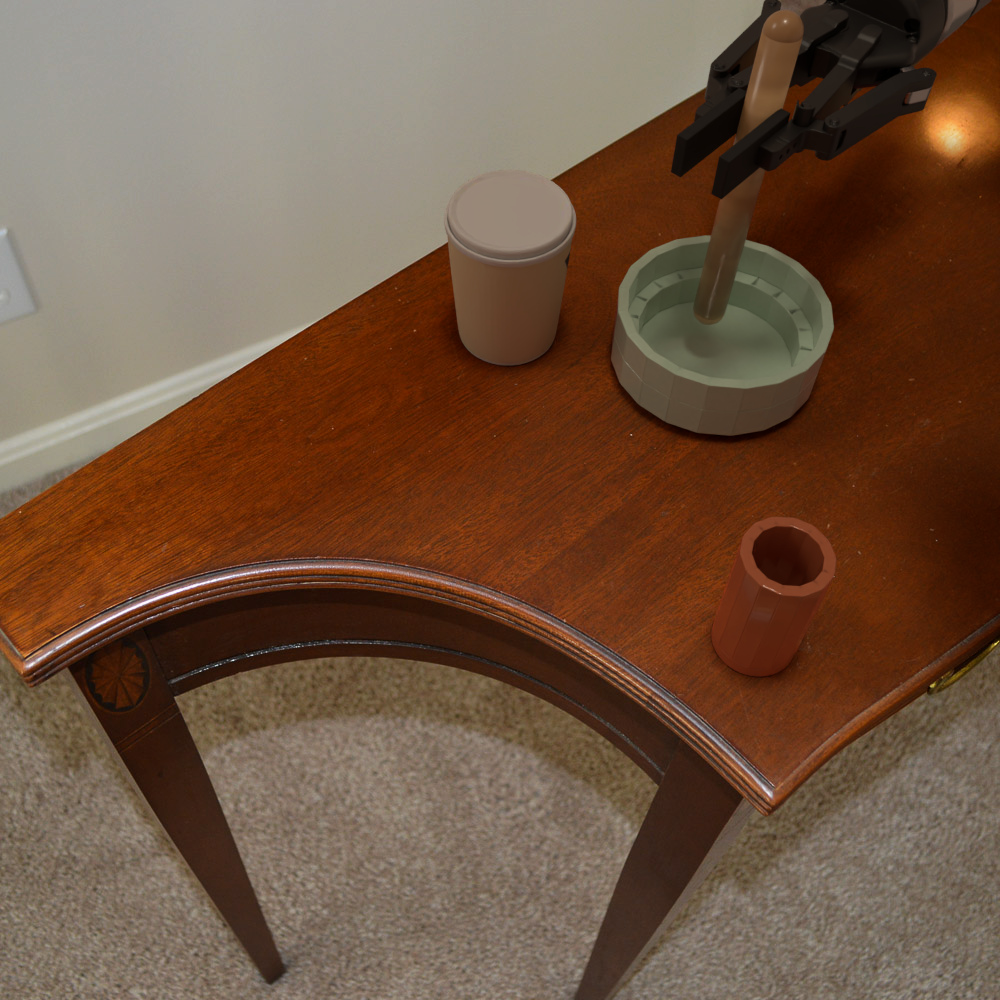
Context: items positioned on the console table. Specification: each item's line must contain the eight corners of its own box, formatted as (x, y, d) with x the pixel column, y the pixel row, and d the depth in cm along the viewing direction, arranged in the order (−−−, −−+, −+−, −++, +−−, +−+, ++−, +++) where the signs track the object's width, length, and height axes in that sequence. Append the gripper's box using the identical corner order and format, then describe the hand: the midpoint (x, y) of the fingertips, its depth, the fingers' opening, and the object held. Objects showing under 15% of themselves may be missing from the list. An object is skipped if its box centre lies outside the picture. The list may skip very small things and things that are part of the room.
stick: (728, 320, 82) (816, 12, 63) (710, 336, 81) (794, 27, 62) (702, 305, 83) (781, -3, 64) (684, 320, 82) (759, 11, 63)
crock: (811, 635, 71) (854, 551, 62) (764, 693, 68) (802, 614, 60) (742, 587, 73) (775, 500, 64) (693, 642, 70) (721, 558, 62)
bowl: (851, 358, 85) (873, 302, 80) (737, 477, 78) (754, 423, 73) (688, 265, 91) (700, 208, 86) (569, 368, 84) (574, 311, 79)
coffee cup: (590, 342, 86) (603, 221, 76) (491, 392, 82) (492, 272, 73) (521, 273, 90) (526, 151, 80) (425, 318, 87) (418, 196, 77)
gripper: (978, 102, 76) (793, 274, 66) (791, 18, 82) (594, 164, 72) (1021, 0, 70) (825, 171, 60) (815, -83, 76) (605, 60, 66)
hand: (699, 167), depth 66 cm, fingers closed on stick, 2 cm apart
